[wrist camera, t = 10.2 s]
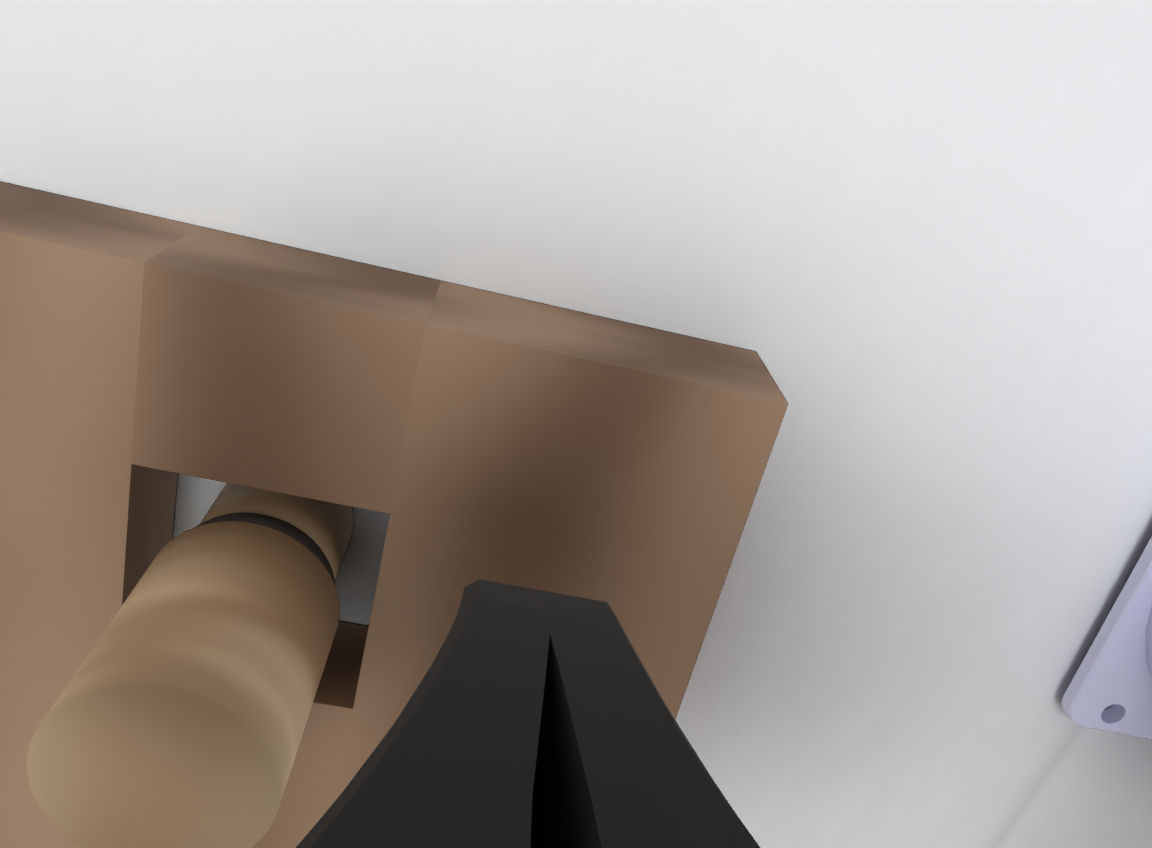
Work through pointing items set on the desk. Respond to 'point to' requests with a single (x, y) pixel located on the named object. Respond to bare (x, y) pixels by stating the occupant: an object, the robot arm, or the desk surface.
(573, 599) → the robot arm
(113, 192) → the desk surface
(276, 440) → the board
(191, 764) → the peg
